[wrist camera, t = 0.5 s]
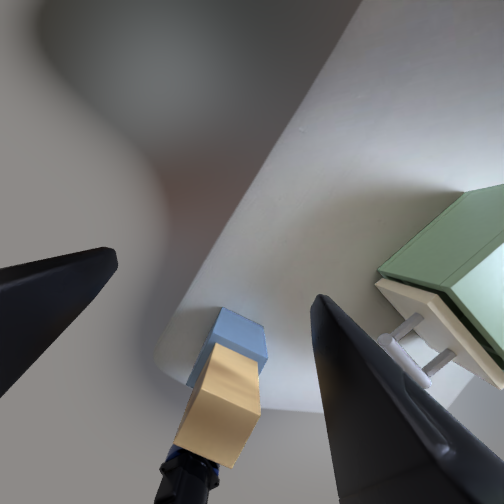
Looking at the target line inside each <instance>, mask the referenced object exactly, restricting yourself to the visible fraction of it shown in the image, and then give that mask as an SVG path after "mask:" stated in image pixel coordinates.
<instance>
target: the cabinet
mask: <svg viewBox="0 0 504 504" xmlns="http://www.w3.org/2000/svg"><path fill="white" fill-rule="evenodd" d="M377 270H378V271H379V273H380V274H381V275H382V276H383V277H384V278H385V279H388V280H391V281H394V282H398V283H401V284H404V283H403V281H402V280H404V281H408V282H411V283H415V284H418V285H422V286H426V287H429V288H433V289H436V290H440V291H444V292H446V293H447V294H448V296H449V297H450V298H451V299H452V300H453V302H454V303H455V304H456V305H457V306H458V307H459V309H460V310H461V311H462V312H463V313H464V315H465V316H466V317H467V318H468V319H469V320H470V322H471V323H472V324H473V325H474V326H475V327H476V329H477V330H478V331H479V332H480V333H481V335H482V336H483V337H484V338H485V339H486V340H487V342H488V343H489V344H490V345H491V346H492V348H493V349H494V350H495V351H496V352H497V353H498V355H499V356H498V355H496V354H494V353H492V352H490V351H488V350H485V349H484V350H485V351H486V352H487V353H488V354H489V356H490V357H491V358H492V359H493V360H494V361H495V363H496V364H497V365H498V366H499V367H500V369H501V370H502V371H503V372H504V184H501V185H497V186H492V187H487V188H483V189H478V190H473V191H468V192H465V193H464V194H463V195H462V196H460V197H459V198H458V199H457V200H456V201H455V202H454V203H452V204H451V205H450V206H449V207H448V208H447V209H446V210H444V211H443V212H442V213H441V214H440V215H439V216H438V217H436V218H435V219H434V220H433V221H432V222H431V223H430V224H428V225H427V226H426V227H425V228H424V229H423V230H422V231H420V232H419V233H418V234H417V235H416V236H415V237H414V238H412V239H411V240H410V241H409V242H408V243H407V244H406V245H404V246H403V247H402V248H401V249H400V250H399V251H398V252H396V253H395V254H394V255H393V256H392V257H391V258H390V259H389V260H387V261H386V262H385V263H384V264H383V265H382V266H381V267H379V268H378V269H377ZM404 285H405V284H404Z"/></svg>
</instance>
